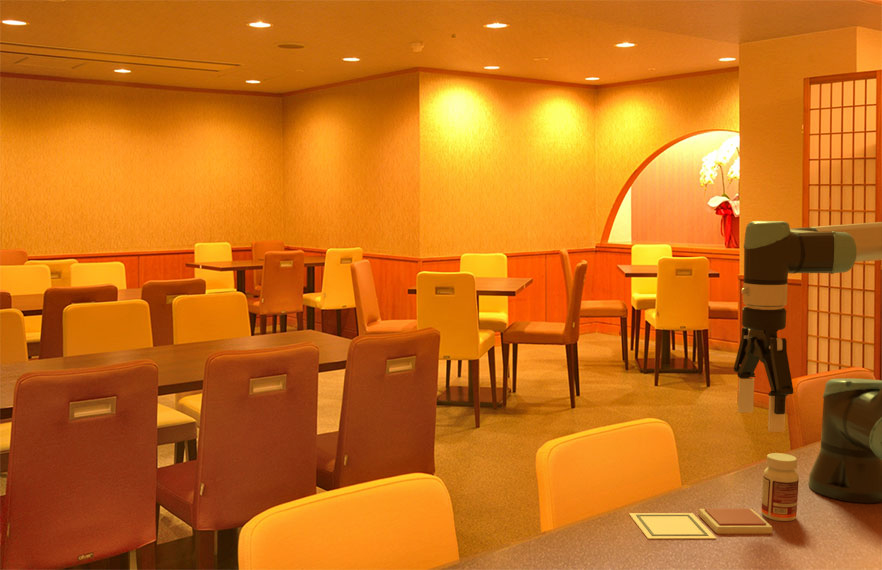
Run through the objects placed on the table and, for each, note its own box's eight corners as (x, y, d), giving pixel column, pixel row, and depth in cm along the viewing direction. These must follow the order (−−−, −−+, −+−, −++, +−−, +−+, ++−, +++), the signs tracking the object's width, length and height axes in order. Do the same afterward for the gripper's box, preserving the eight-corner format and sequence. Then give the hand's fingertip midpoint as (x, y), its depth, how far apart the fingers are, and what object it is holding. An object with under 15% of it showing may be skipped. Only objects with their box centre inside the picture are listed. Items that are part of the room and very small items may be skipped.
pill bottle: (803, 518, 167) (807, 458, 165) (782, 524, 163) (786, 463, 162) (774, 508, 172) (778, 450, 170) (753, 513, 168) (757, 454, 167)
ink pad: (751, 515, 168) (751, 507, 167) (772, 533, 159) (772, 525, 158) (698, 515, 167) (699, 507, 167) (716, 533, 158) (717, 525, 158)
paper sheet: (692, 514, 167) (692, 512, 167) (716, 539, 155) (716, 537, 155) (628, 514, 166) (628, 512, 166) (648, 539, 155) (648, 537, 154)
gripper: (718, 298, 175) (715, 405, 177) (773, 316, 150) (769, 440, 153) (756, 297, 176) (752, 404, 178) (817, 315, 151) (812, 439, 153)
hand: (760, 421), depth 165 cm, fingers open, 13 cm apart
